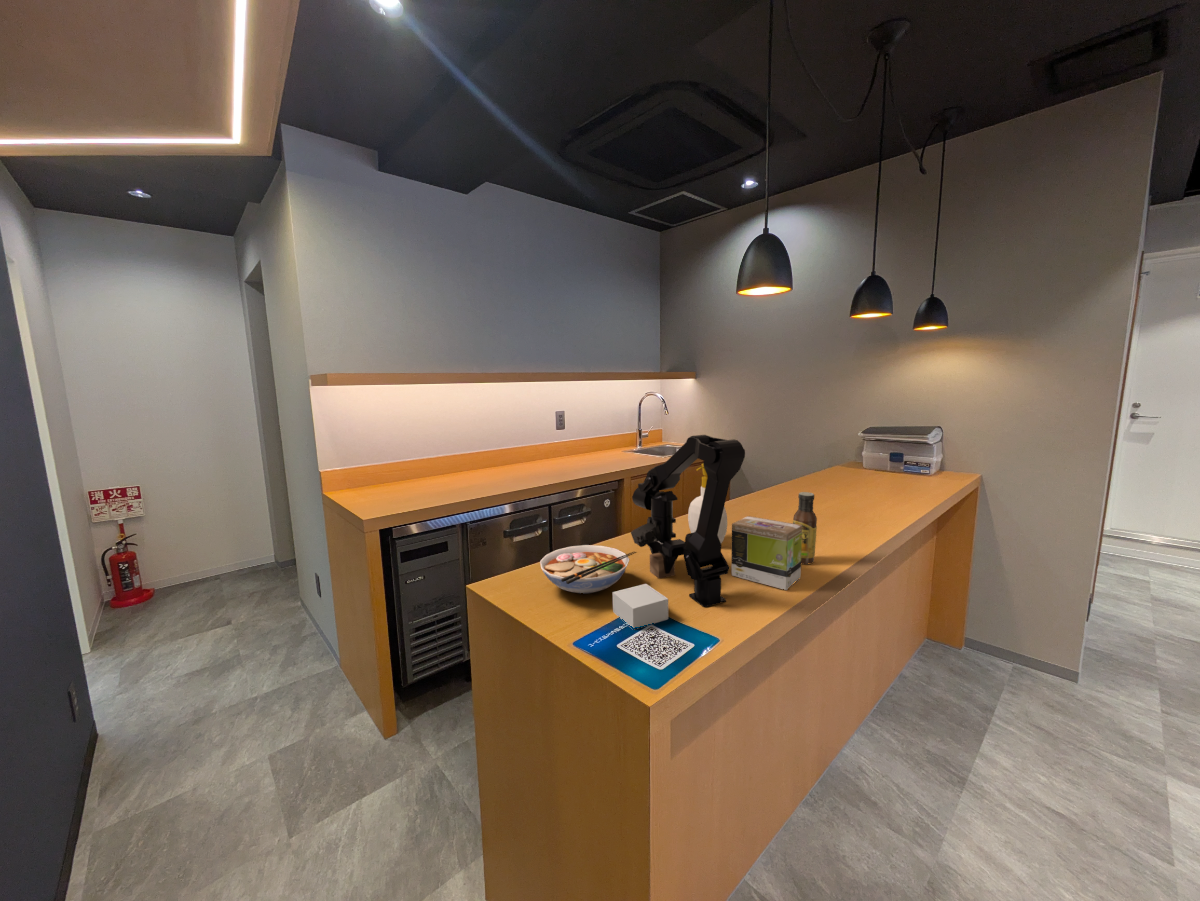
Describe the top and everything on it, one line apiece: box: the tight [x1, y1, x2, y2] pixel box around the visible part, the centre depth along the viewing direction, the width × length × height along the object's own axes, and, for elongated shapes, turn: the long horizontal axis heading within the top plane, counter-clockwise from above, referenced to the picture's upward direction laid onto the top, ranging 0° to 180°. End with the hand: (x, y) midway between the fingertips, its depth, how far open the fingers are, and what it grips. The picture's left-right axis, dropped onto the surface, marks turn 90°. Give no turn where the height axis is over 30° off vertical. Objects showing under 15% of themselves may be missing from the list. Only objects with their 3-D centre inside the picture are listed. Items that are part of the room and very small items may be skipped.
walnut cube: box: [649, 553, 676, 579], centre depth 127 cm, size 5×5×5 cm
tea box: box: [731, 515, 802, 591], centre depth 122 cm, size 15×10×15 cm
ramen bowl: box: [539, 544, 637, 595], centre depth 120 cm, size 25×23×8 cm
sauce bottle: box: [792, 491, 818, 565], centre depth 132 cm, size 6×6×20 cm
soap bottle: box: [687, 463, 728, 544], centre depth 148 cm, size 14×9×26 cm, turn 36°
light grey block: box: [612, 583, 669, 628], centre depth 105 cm, size 9×9×5 cm
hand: (662, 569), depth 128 cm, fingers closed on walnut cube, 5 cm apart
